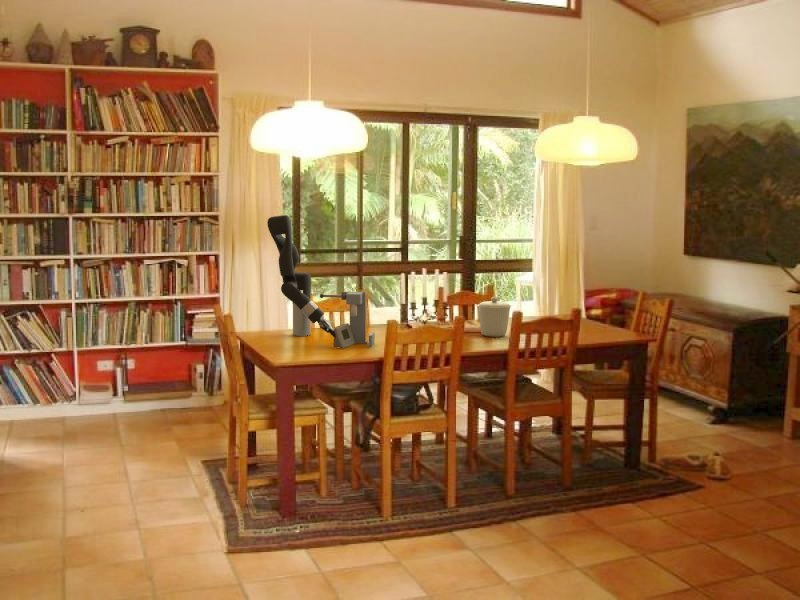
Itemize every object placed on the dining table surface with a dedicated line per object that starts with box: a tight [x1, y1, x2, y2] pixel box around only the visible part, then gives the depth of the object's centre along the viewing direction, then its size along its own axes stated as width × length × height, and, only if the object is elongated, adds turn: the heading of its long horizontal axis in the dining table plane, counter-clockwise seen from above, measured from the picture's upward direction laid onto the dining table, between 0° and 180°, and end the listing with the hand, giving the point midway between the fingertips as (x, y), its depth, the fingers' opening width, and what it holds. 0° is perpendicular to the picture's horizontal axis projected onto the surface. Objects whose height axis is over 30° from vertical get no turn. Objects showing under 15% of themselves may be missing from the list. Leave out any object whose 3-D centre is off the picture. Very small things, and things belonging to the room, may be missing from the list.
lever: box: [319, 293, 346, 299], centre depth 434 cm, size 2×14×2 cm, turn 85°
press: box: [341, 291, 376, 348], centre depth 431 cm, size 14×17×26 cm
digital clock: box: [333, 322, 355, 350], centre depth 428 cm, size 16×9×11 cm, turn 151°
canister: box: [477, 296, 512, 338], centre depth 463 cm, size 18×18×21 cm
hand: (336, 336), depth 430 cm, fingers closed
